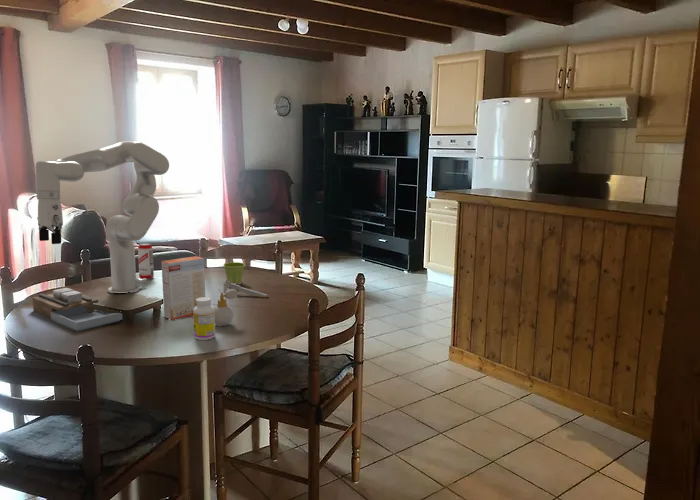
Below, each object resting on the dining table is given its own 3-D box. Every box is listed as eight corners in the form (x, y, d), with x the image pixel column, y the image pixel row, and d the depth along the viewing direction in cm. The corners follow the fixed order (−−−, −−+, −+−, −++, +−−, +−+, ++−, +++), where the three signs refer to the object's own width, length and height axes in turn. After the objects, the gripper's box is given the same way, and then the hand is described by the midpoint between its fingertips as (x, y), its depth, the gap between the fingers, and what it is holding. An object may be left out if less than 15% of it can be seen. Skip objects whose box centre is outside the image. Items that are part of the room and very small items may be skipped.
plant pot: (242, 286, 245) (242, 267, 243) (221, 285, 245) (221, 266, 243) (247, 281, 254) (246, 262, 252) (226, 280, 254) (226, 262, 252)
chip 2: (75, 298, 202) (74, 290, 202) (82, 301, 199) (81, 292, 199) (61, 301, 198) (60, 293, 198) (68, 304, 195) (67, 295, 195)
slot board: (71, 302, 214) (70, 288, 213) (98, 313, 202) (97, 297, 201) (33, 310, 203) (32, 295, 202) (59, 322, 191) (58, 305, 190)
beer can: (149, 280, 251) (147, 245, 248) (136, 279, 252) (134, 244, 249) (156, 277, 257) (155, 243, 254) (144, 276, 258) (142, 242, 255)
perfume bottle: (207, 327, 190) (206, 293, 188) (221, 318, 199) (220, 286, 197) (227, 329, 188) (226, 295, 186) (240, 320, 197) (239, 288, 195)
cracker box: (198, 309, 209) (196, 255, 205) (206, 313, 205) (205, 257, 201) (163, 317, 199) (160, 260, 196) (171, 321, 195) (168, 263, 191)
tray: (95, 310, 205) (95, 302, 205) (122, 320, 195) (122, 312, 194) (51, 320, 193) (50, 312, 192) (77, 331, 182) (76, 323, 182)
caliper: (223, 294, 232) (223, 279, 231) (224, 293, 233) (224, 279, 232) (268, 298, 227) (268, 283, 226) (270, 298, 228) (269, 283, 227)
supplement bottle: (196, 333, 183) (194, 296, 181) (216, 333, 184) (215, 296, 181) (192, 341, 176) (190, 301, 174) (213, 340, 177) (212, 301, 175)
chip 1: (67, 295, 206) (66, 287, 205) (74, 298, 203) (73, 290, 202) (53, 298, 202) (52, 290, 201) (60, 300, 199) (59, 292, 198)
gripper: (70, 197, 199) (71, 244, 202) (48, 193, 210) (50, 238, 212) (48, 197, 193) (50, 246, 196) (27, 193, 204) (29, 240, 206)
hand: (50, 242), depth 204 cm, fingers open, 9 cm apart
